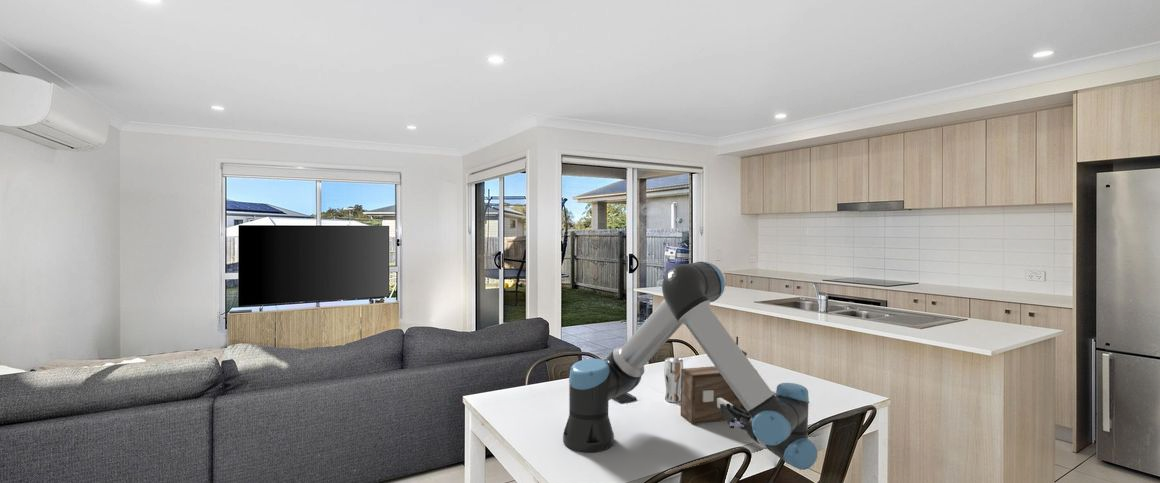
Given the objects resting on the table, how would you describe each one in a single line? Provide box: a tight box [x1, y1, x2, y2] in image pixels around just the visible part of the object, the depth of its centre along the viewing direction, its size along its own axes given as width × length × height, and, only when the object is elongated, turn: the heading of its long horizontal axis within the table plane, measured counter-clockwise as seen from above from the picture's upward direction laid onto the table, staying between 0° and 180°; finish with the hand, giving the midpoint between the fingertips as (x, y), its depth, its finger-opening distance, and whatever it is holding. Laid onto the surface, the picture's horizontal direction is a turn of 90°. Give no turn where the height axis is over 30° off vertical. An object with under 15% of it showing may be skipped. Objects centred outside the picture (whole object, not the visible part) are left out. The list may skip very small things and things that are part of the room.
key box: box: [680, 365, 758, 425], centre depth 173 cm, size 8×24×16 cm, turn 106°
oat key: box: [702, 389, 714, 402], centre depth 169 cm, size 6×4×4 cm, turn 16°
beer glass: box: [663, 357, 684, 404], centre depth 188 cm, size 7×7×15 cm
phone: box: [612, 392, 637, 404], centre depth 193 cm, size 8×1×15 cm
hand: (719, 402), depth 160 cm, fingers closed
